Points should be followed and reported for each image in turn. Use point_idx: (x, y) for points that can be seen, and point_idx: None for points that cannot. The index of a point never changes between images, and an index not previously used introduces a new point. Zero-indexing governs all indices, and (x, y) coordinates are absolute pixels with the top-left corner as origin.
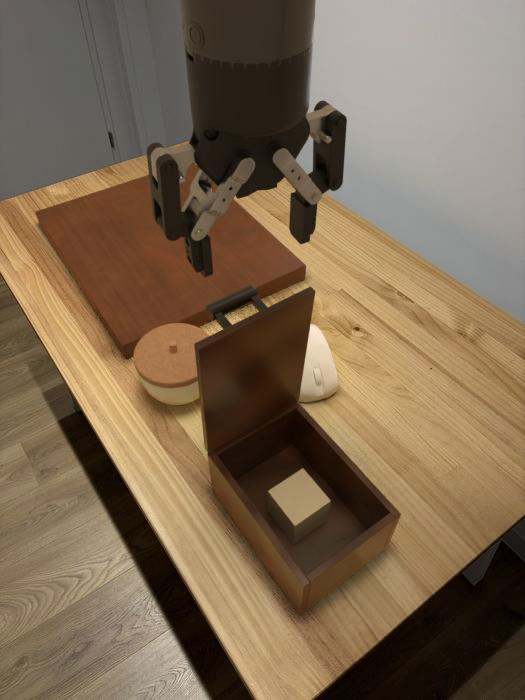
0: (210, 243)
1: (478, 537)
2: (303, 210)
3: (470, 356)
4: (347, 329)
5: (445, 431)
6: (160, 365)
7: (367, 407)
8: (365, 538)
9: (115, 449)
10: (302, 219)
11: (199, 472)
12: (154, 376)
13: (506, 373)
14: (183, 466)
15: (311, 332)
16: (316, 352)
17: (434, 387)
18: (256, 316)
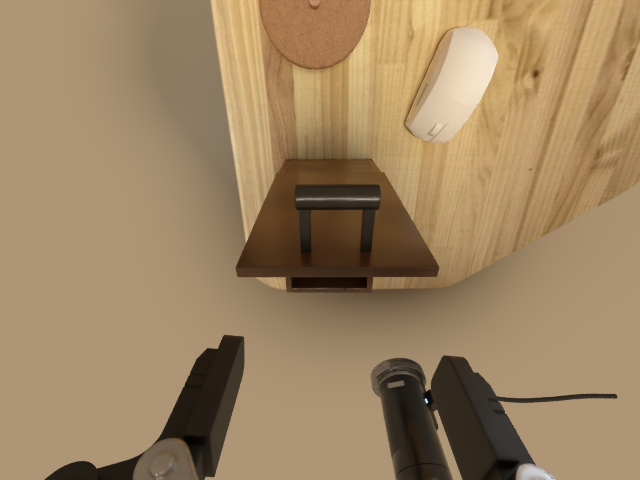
0: (219, 457)
1: (413, 284)
2: (465, 477)
3: (570, 180)
4: (527, 67)
5: (472, 223)
6: (287, 19)
7: (447, 169)
8: (339, 291)
9: (223, 61)
10: (455, 445)
11: (284, 137)
12: (274, 34)
13: (568, 212)
14: (274, 122)
15: (478, 80)
16: (456, 111)
17: (510, 187)
18: (335, 272)
